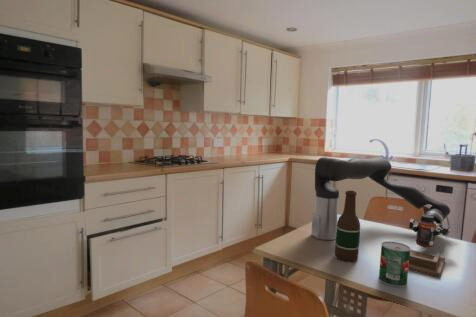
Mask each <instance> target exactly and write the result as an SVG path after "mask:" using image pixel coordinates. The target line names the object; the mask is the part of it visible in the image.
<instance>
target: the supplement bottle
mask: <svg viewBox="0 0 476 317" xmlns="http://www.w3.org/2000/svg"><path fill="white" fill-rule="evenodd" d="M420 219H421V220H420ZM420 219H419V221H418V220H417V221H418V227H417V232H416V239H415V243H416V245H417V246H419V247H422V248H428V249H429V248H430V249H431V248H433V247H434V246H435V242H436V241H435V240H436V236H434V233H435V229H436V223H435V222H434V221H433V220H434V217H433V216H430V215H424V214H421V217H420Z"/></svg>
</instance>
